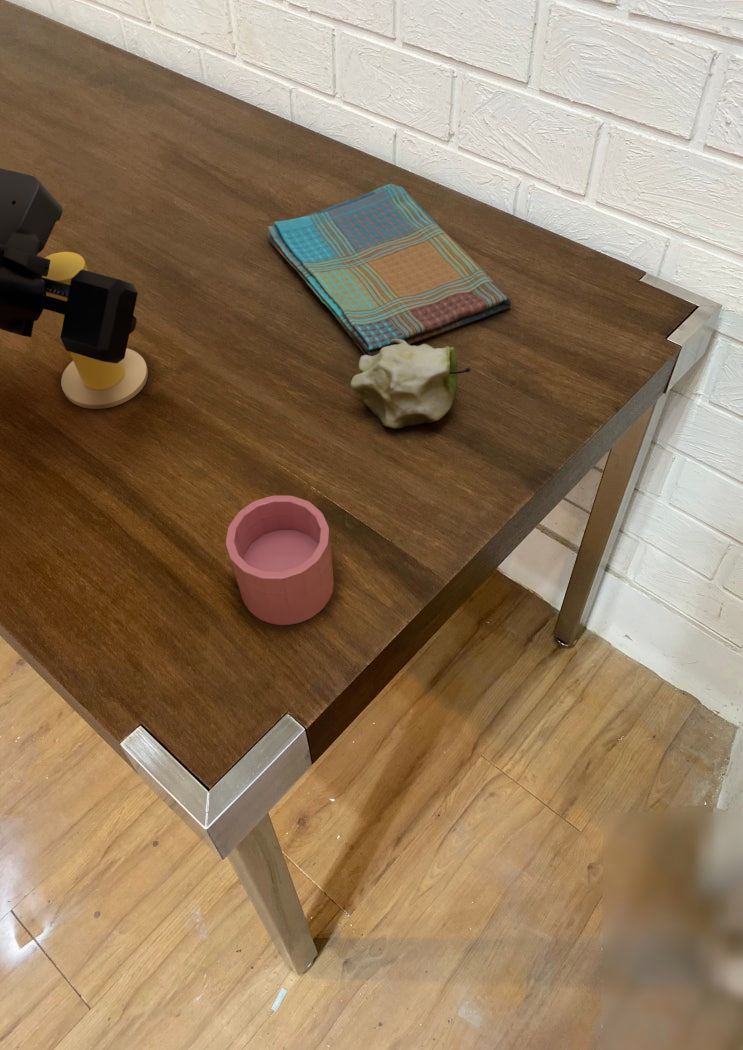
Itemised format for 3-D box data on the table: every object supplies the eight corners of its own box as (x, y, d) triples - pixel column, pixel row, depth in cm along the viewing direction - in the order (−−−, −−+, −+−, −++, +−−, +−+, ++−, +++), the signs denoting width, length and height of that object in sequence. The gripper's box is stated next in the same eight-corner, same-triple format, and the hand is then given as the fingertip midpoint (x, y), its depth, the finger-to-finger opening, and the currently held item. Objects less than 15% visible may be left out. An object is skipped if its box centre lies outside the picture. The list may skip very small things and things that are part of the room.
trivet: (69, 418, 71) (66, 414, 70) (58, 363, 75) (55, 358, 75) (155, 395, 72) (154, 391, 72) (139, 342, 77) (138, 337, 76)
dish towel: (400, 197, 91) (400, 177, 89) (514, 308, 79) (517, 287, 77) (266, 241, 87) (263, 220, 85) (365, 366, 74) (365, 345, 72)
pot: (254, 638, 57) (241, 591, 52) (230, 562, 61) (215, 512, 56) (346, 607, 59) (342, 559, 53) (316, 534, 63) (310, 483, 57)
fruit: (474, 408, 73) (490, 355, 65) (401, 464, 70) (409, 415, 62) (407, 346, 75) (415, 288, 68) (334, 398, 72) (334, 344, 65)
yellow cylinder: (111, 393, 72) (67, 284, 62) (73, 384, 73) (25, 275, 63) (132, 365, 74) (93, 256, 64) (95, 357, 75) (52, 247, 65)
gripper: (82, 184, 50) (201, 242, 65) (-138, 132, 55) (21, 197, 70) (50, 354, 52) (173, 372, 67) (-159, 291, 57) (-1, 321, 72)
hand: (90, 311), depth 69 cm, fingers open, 9 cm apart
